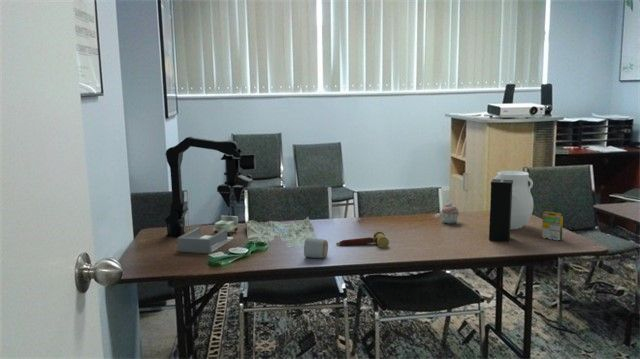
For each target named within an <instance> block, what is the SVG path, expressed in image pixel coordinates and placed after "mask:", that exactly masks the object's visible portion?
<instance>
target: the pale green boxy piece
mask: <svg viewBox="0 0 640 359" xmlns="http://www.w3.org/2000/svg"><path fill="white" fill-rule="evenodd" d="M224 229H226V230H227V236H228V235H229V236H230V235H232V231H233V230H234V232H237V231H238V230H239V217H238V216H236V215H220V220H219V221H216V222H214V228H213V229H212V231H213V233H214V235H215V234H217V233H218V232H220V231H222V230H224Z"/></svg>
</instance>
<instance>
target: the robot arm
mask: <svg viewBox="0 0 640 359" xmlns="http://www.w3.org/2000/svg"><path fill="white" fill-rule="evenodd" d="M192 147H193V148H199V149H200V148H201V149H206V150H212V151H217V152H220V153H222V154H223V155H222V157H220V161H225V163H224V164H225V172H223V175H224V176H225V177H226V178H225V181H224V182H223V183H224V184H222V183H221V184H219V185H217V187H216V192H217V193H218V194H220V197H221V198H222V199H223V201H224V203H225V204H226V206H227V208H230V207H231V203H232V202H231V201H232V195H233V194H234V197H235V200H236V203H238V204H239V203H241V198H242V195H243V191H244V190H245V189H246V188H249V187H251V186H252V183H253V182H254V181H253V175H251V174H247V175H243V174H242V171H241V170H243V171H247V170H248V171H249V170H251V171H252V170H256V169H257V160H256V159H257V158H256V154H255V153H251V154H244V153H243V152H244V151H242V150H241V148H240V145H239V143H238V141H235V140H219V141H218V140H214V139H213V140H211V139H205V138H197V137H193V136H188V137H185V138H184V139H183V140H182V141H180V142H179V143H177V144H175V146H170V147H169V148H167V149H166V150H165V158H166V162H167V164H168V167H169V171H170V183H171V184H170V186H171V197H172V198H171V202H170V208H169V215H167V217H165V219H164V222H165V224H166V233H167V234H165V237H170V238H171V237H173V238H178V237H180V236H182V235H184V234H186V232H185V229H184V228H185V227H184V224H183V222H184V221H183V217H184V216H185V215H187V212H188V211H189V208H188V201H186V200H184V197H183V186H182V185H183V184H182V183H183V182H182V170H181V169H182V168H181V166H182V162H183V157H184V156H183V155H184V152H186V151H187V150H189V148H192ZM240 169H241V170H240Z"/></svg>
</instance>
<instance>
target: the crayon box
mask: <svg viewBox="0 0 640 359" xmlns="http://www.w3.org/2000/svg"><path fill="white" fill-rule="evenodd" d="M552 214H553V215H552ZM563 223H564V216H562V213H560V212H553V211H545V210H544V211H543V213H542V228H541V229H542V230H541V238H542V237H543V238H542V239H546V238H548V239H547V240H552V239H553V241H554V240H555V241H558V240H560V241H562V240H561V239H563V227H564V226H563V225H564V224H563Z"/></svg>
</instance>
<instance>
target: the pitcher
mask: <svg viewBox="0 0 640 359" xmlns="http://www.w3.org/2000/svg"><path fill="white" fill-rule="evenodd" d="M502 173H503V180H513V184H512V205H511V227H510V230H519V228H520V229H522V227H523V226H525V225H526V224H527V223H528V221H529V220H530V219H531V216H532V215H533V212H534V198H533V195H532V193H531V189H532V188H533V185H534V182H533V179H532V178H531V177H530V173H529V172H527V171H522V170H501V171H497V174H496V176H494V177H493V178H492V180H493V179H502V177H501V174H502ZM528 182H529V186H528V185H527V183H528Z"/></svg>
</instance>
